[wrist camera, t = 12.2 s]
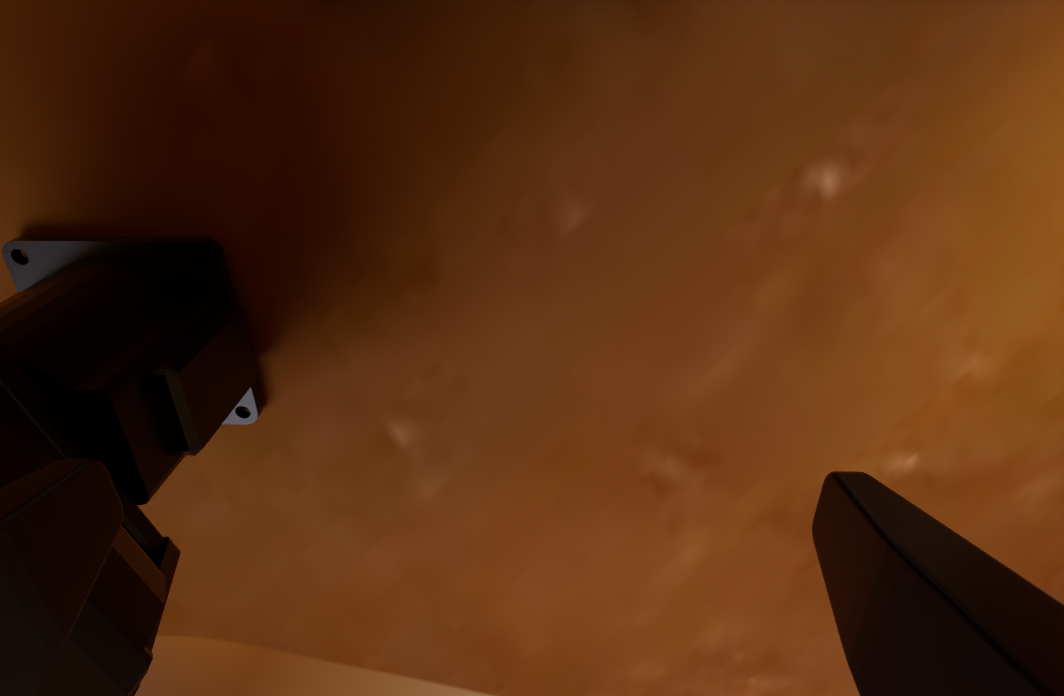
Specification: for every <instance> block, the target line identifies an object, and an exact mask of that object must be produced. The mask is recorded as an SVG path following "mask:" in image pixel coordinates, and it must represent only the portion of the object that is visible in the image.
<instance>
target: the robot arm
mask: <svg viewBox="0 0 1064 696" xmlns="http://www.w3.org/2000/svg"><path fill="white" fill-rule="evenodd" d="M21 250H22V251H23V252H25V253H26V255H27V256H28V259H27V258H26V257H24V256H23V254H22V253H21ZM199 250H202V251H204V252H206V253H207V254H208V256H209V258H210V261H206V260H204V259H203V258H202V257H201V256H200V254H199ZM2 253H3V257H4V259H5V262H6V264H7V266H8V269H9V271H10V274H11V276H12V278H13V281H14V283H15V285H16V288H17V290H18V292H19V293H17V294H15V295H14V296H12V297H10V298H8V299H6V300H4V301H3V302H1V303H0V696H134V695H135V693H136V691H137V690H138V688H139V686H140V683H141V681H142V680H143V678H144V677H145V675H146V674H147V672H148V670H149V667H150V665H151V662H152V659H153V653H152V652H151V651H152V648H153V645H154V641H155V638H156V634H157V631H158V628H159V624H160V621H161V617H162V614H163V611H164V607H165V604H166V600H167V597H168V593H169V590H170V587H171V583H172V580H173V576H174V573H175V570H176V566H177V563H178V559H179V556H180V550H179V549H178V548H177V547H176V545H175V544H174V543H173V542H172V541H171V539H170V538H169V537H163V536H162V535H161V534H160V533H159V531H158V530H157V529H156V528H155V527H154V525H153V524H152V523H151V522H150V521H149V519H148V518H147V517H146V516H145V514H144V513H143V512H142V511H141V510H140V508H139V507H138V506H137V505H143V504H146V503H147V502H148V501H149V500H150V499H151V498H152V496H153V495H154V494H155V493H156V491H157V490H158V489H159V488H160V486H161V485H162V484H163V483H164V481H165V480H166V479H167V478H168V476H169V475H170V474H171V473H172V472H173V470H174V469H175V468H176V467H177V465H178V464H179V463H180V462H181V460H182V459H183V458H184V457H185V455H187V456H195V455H197V454H198V453H199V452H200V451H201V450H202V449H203V448H204V446H205V445H206V444H207V443H208V441H209V440H210V439H211V437H212V436H213V435H214V434H215V432H216V431H217V430H218V428H219V427H220V426H221V425H222V424H252V423H253V422H255V421H256V420H257V418H258V417H259V415H260V414H261V412H262V403H261V399H260V395H259V391H258V387H257V383H256V380H257V378H258V376H259V374H258V370H257V366H256V362H255V358H254V353H253V349H252V345H251V341H250V337H249V333H248V329H247V325H246V321H245V317H244V313H243V310H242V309H241V308H240V307H239V306H238V305H237V303H236V299H235V295H234V291H233V287H232V283H231V279H230V275H229V271H228V267H227V263H226V259H225V255H224V252H223V250H222V248H221V247H220V246H219V244H218V243H217V242H215V241H213V240H212V239H209V238H204V237H18V238H16V239H13V240H11V241H9V242H7V243H6V244H5V245H4V246H3V249H2ZM241 406H244V407H246V408H248V409H249V411H250V412H248V411H245V410H243V409H242V407H241ZM812 534H813V541H814V545H815V548H816V552H817V556H818V559H819V563H820V567H821V570H822V574H823V578H824V581H825V585H826V589H827V592H828V596H829V600H830V603H831V607H832V610H833V614H834V618H835V621H836V625H837V629H838V632H839V636H840V640H841V643H842V646H843V650H844V653H845V656H846V660H847V662H848V665H849V668H850V671H851V673H852V676H853V679H854V682H855V684H856V687H857V689H858V692H859V694H860V696H1064V604H1062V603H1061V602H1059V601H1058V600H1056V599H1055V598H1053V597H1052V596H1050V595H1049V594H1047V593H1046V592H1044V591H1043V590H1041V589H1040V588H1038V587H1037V586H1035V585H1034V584H1032V583H1031V582H1029V581H1028V580H1026V579H1025V578H1023V577H1022V576H1020V575H1019V574H1017V573H1016V572H1014V571H1013V570H1011V569H1010V568H1008V567H1007V566H1005V565H1004V564H1002V563H1001V562H999V561H998V560H996V559H995V558H993V557H992V556H990V555H989V554H987V553H986V552H984V551H983V550H981V549H980V548H978V547H977V546H975V545H974V544H972V543H971V542H969V541H968V540H966V539H965V538H963V537H962V536H960V535H959V534H957V533H956V532H954V531H953V530H951V529H950V528H948V527H947V526H945V525H944V524H942V523H941V522H939V521H938V520H936V519H935V518H933V517H932V516H930V515H929V514H927V513H926V512H924V511H923V510H921V509H920V508H918V507H917V506H915V505H914V504H912V503H911V502H909V501H908V500H906V499H905V498H903V497H902V496H900V495H899V494H897V493H896V492H894V491H893V490H891V489H890V488H888V487H887V486H885V485H884V484H882V483H881V482H879V481H878V480H876V479H875V478H873V477H872V476H870V475H868V474H866V473H864V472H845V471H834V472H831V473H829V474H828V475H827V476H826V478H825V480H824V483H823V486H822V490H821V493H820V497H819V501H818V504H817V508H816V512H815V515H814V519H813V525H812Z"/></svg>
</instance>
